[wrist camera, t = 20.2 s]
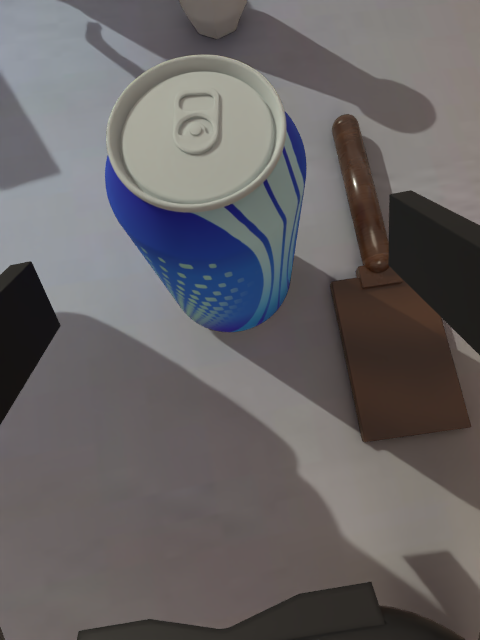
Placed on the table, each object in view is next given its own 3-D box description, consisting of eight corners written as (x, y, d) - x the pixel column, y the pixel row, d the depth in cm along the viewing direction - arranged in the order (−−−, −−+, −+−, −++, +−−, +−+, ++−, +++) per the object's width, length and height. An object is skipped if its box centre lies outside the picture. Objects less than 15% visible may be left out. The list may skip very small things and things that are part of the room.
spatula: (298, 133, 33) (300, 115, 31) (382, 120, 33) (390, 101, 31) (362, 441, 27) (369, 443, 25) (466, 426, 27) (482, 427, 25)
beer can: (312, 271, 30) (360, 105, 14) (239, 360, 29) (207, 281, 13) (225, 208, 32) (184, 1, 16) (152, 289, 30) (33, 147, 15)
